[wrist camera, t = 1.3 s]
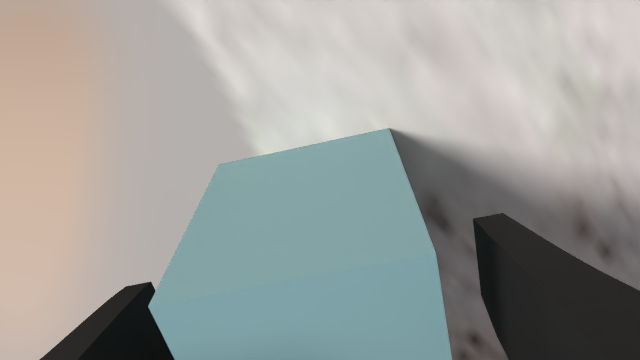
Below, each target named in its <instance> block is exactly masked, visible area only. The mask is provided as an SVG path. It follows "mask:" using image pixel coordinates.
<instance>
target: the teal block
mask: <svg viewBox="0 0 640 360" xmlns="http://www.w3.org/2000/svg"><path fill="white" fill-rule="evenodd" d="M148 307H149V309H150V311H151V313H152V315H153V317H154V319H155V321H156V323H157V325H158V327H159V329H160V331H161V333H162V335H163V337H164V339H165V341H166V343H167V345H168V347H169V349H170V351H171V353H172V355H173V357H174V359H175V360H452V356H451V349H450V342H449V336H448V329H447V323H446V316H445V310H444V303H443V296H442V290H441V283H440V277H439V270H438V263H437V257H436V252H435V249H434V247H433V244H432V241H431V239H430V236H429V233H428V231H427V228H426V225H425V223H424V220H423V217H422V215H421V212H420V209H419V207H418V204H417V201H416V199H415V196H414V193H413V191H412V188H411V185H410V183H409V180H408V177H407V175H406V172H405V169H404V167H403V164H402V161H401V159H400V156H399V153H398V151H397V148H396V145H395V143H394V140H393V137H392V135H391V132H390V129H389V128H387V129H383V130H378V131H374V132H369V133H364V134H360V135H355V136H350V137H346V138H341V139H336V140H332V141H327V142H323V143H318V144H313V145H309V146H304V147H299V148H295V149H290V150H285V151H281V152H276V153H272V154H267V155H262V156H255V157H251V158H246V159H242V160H237V161H232V162H227V163H223V164H219V165H218V167H217V169H216V171H215V173H214V175H213V177H212V179H211V182H210V183H209V185H208V187H207V189H206V192H205V193H204V195H203V197H202V199H201V201H200V203H199V205H198V207H197V209H196V211H195V214H194V215H193V217H192V219H191V221H190V223H189V225H188V227H187V230H186V231H185V233H184V235H183V237H182V239H181V242H180V243H179V245H178V248H177V250H176V251H175V253H174V256H173V257H172V259H171V262H170V263H169V265H168V268H167V270H166V271H165V273H164V276H163V278H162V280H161V281H160V283H159V286H158V287H157V290H156V292H155V294H154V296H153V298H152V300H151V302H150V304H149V306H148Z"/></svg>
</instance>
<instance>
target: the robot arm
mask: <svg viewBox="0 0 640 360" xmlns="http://www.w3.org/2000/svg"><path fill="white" fill-rule="evenodd" d="M473 223H474V232H475V242H476V251H477V260H478V269H479V279H480V288H481V296H482V298H483V301H484V304H485V306H486V309H487V312H488V314H489V317H490V320H491V322H492V325H493V327H494V330H495V332H496V335H497V337H498V339H499V341H500V343H501V345H502V347H503V349H504V351H505V353H506V355H507V357H508V359H509V360H640V291H639V290H637V289H634V288H632V287H631V286H629V285H627V284H625V283H623V282H621V281H619V280H617V279H615V278H613V277H611V276H609V275H607V274H605V273H603V272H601V271H599V270H597V269H595V268H594V267H592V266H590V265H588V264H586V263H584V262H583V261H581V260H579V259H577V258H576V257H574V256H572V255H570V254H569V253H567V252H565V251H564V250H562V249H560V248H558V247H557V246H555V245H553V244H552V243H550V242H548V241H547V240H545V239H544V238H542V237H540V236H539V235H537V234H535V233H534V232H532V231H531V230H529V229H527V228H526V227H524V226H523V225H521V224H520V223H518V222H516V221H515V220H513V219H512V218H510V217H508V216H507V215H505V214H503V213H500V214H495V215H490V216H485V217H480V218H475V219H473ZM155 292H156V291H155V289H154V287H153V285H152V283H151V282H147V283H143V284H137V285H132V286H127V287H125V288H124V289H122V290H121V291H119V292H118V293H117V294H115V295H114V296H113V297H111V298H110V299H109V300H108V301H107V302H105V303H104V304H103V305H102V306H101V307H100V308H98V309H97V310H96V311H95V312H94V313H93V314H92V315H90V316H89V317H88V318H87V319H86V320H85V321H83V322H82V323H81V324H80V325H79V326H78V327H77V328H76V329H74V330H73V331H72V332H71V333H70V334H69V335H68V336H66V337H65V338H64V339H63V340H62V341H61V342H60V343H59V344H57V345H56V346H55V347H54V348H53V349H52V350H51V351H50V352H48V353H47V354H46V355H45V356H44V357H43V358H41V359H40V360H175V359H174V357H173V355H172V353H171V351H170V349H169V347H168V345H167V343H166V341H165V339H164V337H163V335H162V333H161V331H160V329H159V327H158V325H157V323H156V321H155V319H154V317H153V315H152V313H151V311H150V309H149V307H148V306H149V304H150V302H151V300H152V298H153V296H154V294H155Z"/></svg>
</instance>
